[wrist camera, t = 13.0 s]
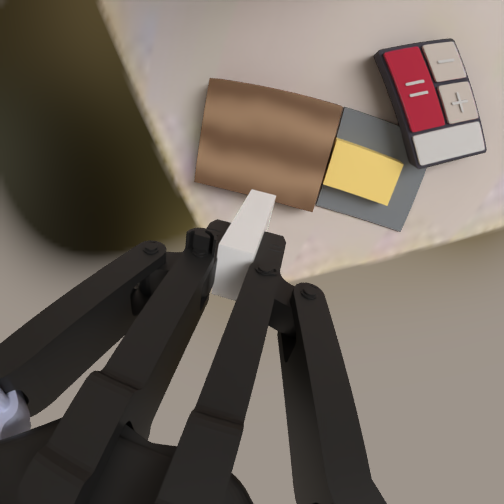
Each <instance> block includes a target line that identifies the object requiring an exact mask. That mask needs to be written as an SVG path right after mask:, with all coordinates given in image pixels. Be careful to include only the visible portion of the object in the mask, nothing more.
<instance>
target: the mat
mask: <svg viewBox="0 0 504 504" xmlns="http://www.w3.org/2000/svg"><path fill="white" fill-rule="evenodd" d="M336 137H337V138H340V139H343V140H346V141H349V142H352V143H354V144H357V145H360V146H363V147H366V148H369V149H371V150H374V151H377V152H379V153H382V154H385V155H387V156H390V157H392V158H395V159H397V160H400V161H401V162H402V163H403V164H404V165H403V167H402V170H401V173H400V175H399V178H398V181H397V183H396V186H395V188H394V191H393V193H392V196H391V198H390V201H389V203H388V205H387V206H386V205H383V204H380V203H378V202H375V201H372V200H369V199H366V198H364V197H361V196H358V195H355V194H352V193H349V192H346V191H343V190H340V189H337V188H333V187H330V186H327V185H324V184H322V188H321V191H320V194H319V197H318V201H317V204H316V205H317V206H320V207H324V208H327V209H330V210H334V211H337V212H340V213H344V214H347V215H350V216H353V217H356V218H360V219H363V220H366V221H369V222H372V223H375V224H378V225H381V226H384V227H387V228H390V229H393V230H396V231H399V232H401V230H402V227H403V225H404V223H405V221H406V218H407V216H408V214H409V211H410V209H411V207H412V204H413V202H414V199H415V197H416V194H417V192H418V189H419V187H420V184H421V182H422V179H423V176H424V174H425V171H426V168H427V167H426V168H422V169H417V168H416V167H414V166H413V165H411V164H410V163H409V161H408V157H407V153H406V150H405V146H404V143H403V139H402V133H401V129H400V126H397V125H395V124H392V123H390V122H387V121H384V120H382V119H379V118H376V117H373V116H371V115H368V114H365V113H362V112H359V111H356V110H353V109H350V108H347V107H344V111H343V115H342V118H341V122H340V126H339V129H338V133H337V136H336Z"/></svg>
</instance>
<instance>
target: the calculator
mask: <svg viewBox="0 0 504 504" xmlns="http://www.w3.org/2000/svg"><path fill="white" fill-rule="evenodd" d="M374 58H375V61H376V63H377V65H378V68H379V70H380V73H381V75H382V78H383V80H384V83H385V85H386V88H387V91H388V93H389V96H390V99H391V102H392V105H393V107H394V110H395V113H396V116H397V119H398V123H399V126H400V129H401V133H402V139H403V143H404V146H405V150H406V153H407V157H408V161H409V163H410V164H411V165H413V166H414V167H416V168H417V169H422V168H426V167H430V166H434V165H438V164H442V163H446V162H449V161H453V160H457V159H461V158H465V157H469V156H473V155H478V154H482V153H485V152H486V144H485V139H484V134H483V129H482V125H481V121H480V117H479V113H478V109H477V105H476V101H475V98H474V95H473V91H472V88H471V85H470V82H469V79H468V76H467V73H466V70H465V67H464V64H463V61H462V59H461V56H460V53H459V51H458V48H457V46H456V44H455V41H454V40H453V39H441V40H433V41H426V42H419V43H413V44H407V45H402V46H396V47H391V48H386V49H382V50H379V51H378V52H377V53H376V54H375V55H374Z"/></svg>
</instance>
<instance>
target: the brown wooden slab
mask: <svg viewBox="0 0 504 504" xmlns="http://www.w3.org/2000/svg"><path fill="white" fill-rule="evenodd" d="M342 108H343V107H342V106H340V105H337V104H334V103H330V102H327V101H323V100H320V99H316V98H312V97H308V96H304V95H300V94H296V93H292V92H288V91H284V90H279V89H274V88H270V87H265V86H260V85H254V84H249V83H243V82H237V81H231V80H224V79H215V78H210V80H209V85H208V91H207V97H206V103H205V109H204V115H203V122H202V128H201V135H200V142H199V149H198V157H197V164H196V172H195V181H194V182H197V183H202V184H206V185H210V186H214V187H218V188H223V189H227V190H231V191H235V192H239V193H243V194H247V195H248V194H249V193H250V191H251V190H252V189H253V190H257V191H260V192H264V193H268V194H272V195H276V199H275V202H277V203H281V204H285V205H288V206H292V207H296V208H299V209H303V210H306V211H310V212H313V209H314V205H315V202H316V199H317V196H318V192H319V189H320V186H321V183H322V179H323V176H324V172H325V169H326V166H327V162H328V159H329V155H330V152H331V148H332V145H333V141H334V138H335V134H336V131H337V127H338V123H339V120H340V116H341V112H342Z"/></svg>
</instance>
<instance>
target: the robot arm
mask: <svg viewBox="0 0 504 504" xmlns="http://www.w3.org/2000/svg"><path fill="white" fill-rule="evenodd" d="M275 199H276V195H272V194H268V193H264V192H260V191H257V190H253V189H252V190H251V191H250V193H249V194H248V196H247V198H246V199H245V201H244V203H243V204H242V206H241V208H240V209H239V211H238V213H237V214H236V216H235V218H234V219H233V221H232V223H229V222H225V221H221V220H218V219H217V220H215V221H213V222H211V223H210V224H209V225H208V227H207V229H205V228H193V229H191V230H189V231H187V234H186V247H185V250H184V251H183V252H166V247H165V245H163V244H162V243H160V242H157V241H145V242H142V243H140V244H139V245H137V246H135V247H134V248H132V249H131V250H129V251H128V252H126V253H125V254H123V255H122V256H120V257H118V258H117V259H115V260H114V261H113V262H111V263H109V264H108V265H106V266H105V267H103V268H102V269H100V270H99V271H98V272H96V273H95V274H93V275H92V276H90V277H89V278H87V279H86V280H84V281H83V282H82V283H80V284H79V285H77V286H76V287H74V288H73V289H72V290H70V291H69V292H67V293H66V294H65V295H63V296H62V297H60V298H59V299H58V300H56V301H55V302H54V303H52V304H51V305H50V306H48V307H47V308H45V309H44V310H43V311H41V312H40V313H39V314H37V315H36V316H35V317H34V318H32V319H31V320H30V321H28V322H27V323H26V324H24V325H23V326H22V327H21V328H19V329H18V330H17V331H15V332H14V333H13V334H12V335H11V336H9V337H8V338H7V339H6V340H4V341H3V342H2V343H0V504H253V502H252V500H251V498H250V496H249V494H248V493H247V491H246V489H245V487H244V486H243V485H242V483H241V482H240V481H239V480H238V479H237V478H236V476H234V475H233V474H232V473H231V472H232V469H233V465H234V462H235V458H236V455H237V451H238V447H239V444H240V440H241V436H242V432H243V427H244V420H245V416H246V412H247V408H248V404H249V401H250V396H251V393H252V389H253V385H254V381H255V377H256V373H257V369H258V365H259V361H260V357H261V353H262V349H263V345H264V341H265V337H266V333H267V328H268V326H270V327H272V328H274V329H276V330H277V331H278V334H277V336H278V343H279V353H280V362H281V369H282V379H283V388H284V397H285V407H286V416H287V426H288V435H289V445H290V455H291V466H292V476H293V486H294V493H295V499H296V503H297V504H387V503H386V502H385V500H384V498H383V497H382V495H381V493H380V492H379V490H378V489H377V487H376V485H375V484H374V482H373V480H372V479H371V474H370V469H369V464H368V459H367V454H366V450H365V445H364V441H363V436H362V432H361V428H360V424H359V419H358V415H357V411H356V407H355V403H354V399H353V395H352V391H351V387H350V383H349V379H348V376H347V372H346V368H345V364H344V361H343V357H342V353H341V350H340V346H339V343H338V339H337V336H336V332H335V329H334V325H333V322H332V319H331V315H330V312H329V308H328V305H327V302H326V299H325V296H324V293H323V292H322V290H321V289H319V288H318V287H317V286H315V285H313V284H310V283H299V284H296V286H293V285H291V284H289V283H288V282H286V281H285V280H284V279H283V278H282V276H281V274H280V268H281V264H282V259H283V254H284V250H285V245H286V241H285V239H284V237H283V236H280V235H276V234H273V233H269V232H267V231H268V227H269V223H270V219H271V215H272V211H273V207H274V203H275ZM211 288H212V294H214V295H218V296H221V297H225V298H228V299H231V300H235V301H236V303H235V305H234V308H233V310H232V313H231V315H230V318H229V321H228V323H227V326H226V329H225V331H224V334H223V336H222V339H221V342H220V344H219V347H218V349H217V352H216V355H215V357H214V360H213V363H212V365H211V368H210V371H209V373H208V376H207V378H206V381H205V383H204V386H203V389H202V391H201V394H200V396H199V399H198V402H197V404H196V407H195V409H194V410H193V411H192V412H191V414H190V416H189V418H188V420H187V423H186V425H185V428H184V431H183V433H182V436H181V438H180V441H179V443H178V446H169V445H162V444H155V443H151V442H149V441H148V437H149V434H150V427H151V424H152V421H153V419H154V416H155V414H156V412H157V410H158V408H159V405H160V403H161V401H162V399H163V397H164V394H165V392H166V390H167V388H168V386H169V384H170V381H171V379H172V377H173V375H174V373H175V371H176V369H177V366H178V364H179V362H180V360H181V358H182V355H183V354H184V351H185V349H186V347H187V345H188V343H189V341H190V338H191V336H192V334H193V332H194V330H195V328H196V326H197V324H198V322H199V319H200V317H201V315H202V313H203V311H204V309H205V307H206V305H207V303H208V300H209V293H210V291H211ZM124 335H125V336H124ZM123 336H124V337H123ZM122 337H123V339H122V341H121V342H120V344H119V345H118V347H117V348H116V350H115V351H114V353H113V354H112V356H111V358H110V359H109V361H108V362H107V364H106V366H105V367H104V368H103V370H101V371H94V372H92V373H91V374H90V375H89V376H88V377H87V378H86V380H85V382H84V383H83V385H82V386H81V388H80V390H79V391H78V393H77V394H76V396H75V398H74V399H73V401H72V403H71V404H70V406H69V408H68V409H67V411H66V413H65V414H64V416H63V417H62V418H60V419H58V420H55V421H52V422H50V423H47V424H45V425H42V426H39V427H37V428H34V429H31V430H30V428H31V423H30V417H32V416H34V415H36V414H38V413H39V412H41V411H42V410H43V409H45V408H46V407H47V406H49V405H50V404H51V403H52V402H54V401H55V400H56V399H57V398H58V397H59V396H60V395H61V394H62V393H63V392H64V391H65V390H66V389H67V388H68V387H69V386H70V385H72V384H73V383H74V382H75V381H76V380H77V379H78V378H79V377H80V376H81V375H82V374H83V373H84V372H85V371H86V370H87V369H89V368H90V367H91V366H92V365H93V364H94V363H95V362H96V361H97V360H98V359H99V358H100V357H101V356H103V354H105V353H106V352H107V351H108V350H109V349H110V348H111V347H112V346H113V345H114V344H116V342H118V341H119V340H120V339H121V338H122Z"/></svg>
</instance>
